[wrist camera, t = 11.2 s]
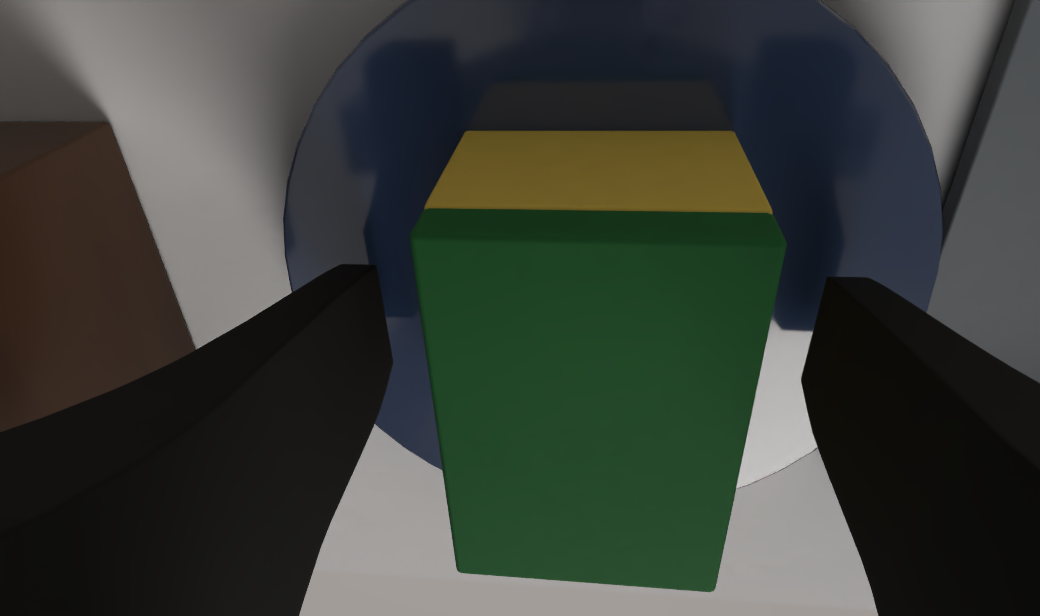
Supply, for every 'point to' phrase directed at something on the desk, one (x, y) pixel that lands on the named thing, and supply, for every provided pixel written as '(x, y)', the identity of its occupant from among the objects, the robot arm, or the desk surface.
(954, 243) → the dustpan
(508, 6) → the plate
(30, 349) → the brown wooden block
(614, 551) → the sponge
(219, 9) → the desk surface
